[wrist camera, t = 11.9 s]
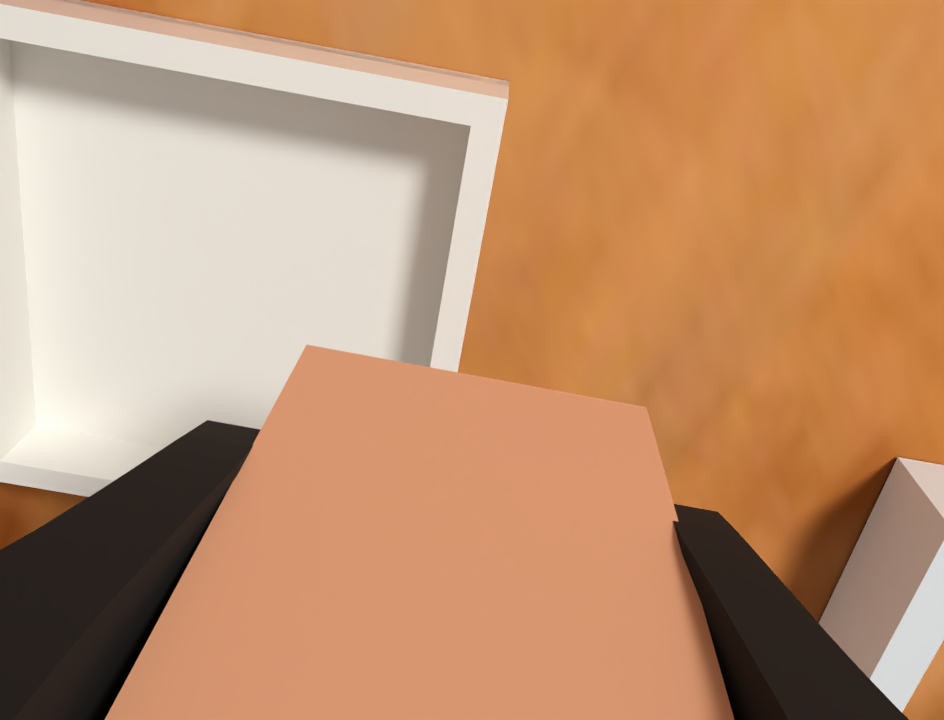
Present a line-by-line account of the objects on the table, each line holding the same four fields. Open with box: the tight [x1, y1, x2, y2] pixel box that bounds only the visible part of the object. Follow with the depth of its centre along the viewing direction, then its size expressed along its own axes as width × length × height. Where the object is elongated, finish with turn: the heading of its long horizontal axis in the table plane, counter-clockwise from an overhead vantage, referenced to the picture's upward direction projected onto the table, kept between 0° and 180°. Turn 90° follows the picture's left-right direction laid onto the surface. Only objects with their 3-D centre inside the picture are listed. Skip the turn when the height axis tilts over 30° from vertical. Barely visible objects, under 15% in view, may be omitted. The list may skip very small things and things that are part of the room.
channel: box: [819, 457, 944, 712], centre depth 19 cm, size 10×8×2 cm
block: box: [105, 345, 734, 720], centre depth 8 cm, size 4×4×6 cm
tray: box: [0, 0, 509, 497], centre depth 16 cm, size 9×9×2 cm
